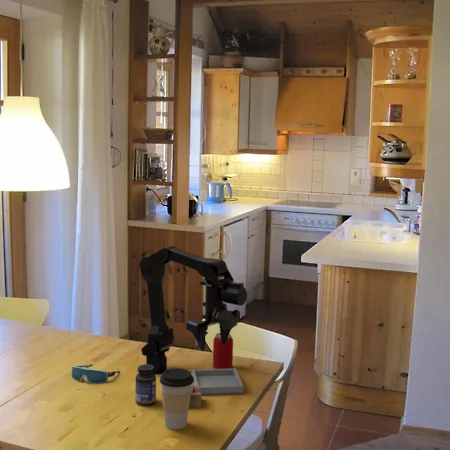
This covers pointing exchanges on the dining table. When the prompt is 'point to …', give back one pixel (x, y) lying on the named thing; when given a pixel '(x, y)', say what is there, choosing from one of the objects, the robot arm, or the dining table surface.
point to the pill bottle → (145, 385)
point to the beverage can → (222, 353)
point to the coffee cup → (176, 397)
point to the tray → (218, 381)
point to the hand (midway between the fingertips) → (213, 347)
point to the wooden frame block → (195, 397)
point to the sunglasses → (91, 374)
